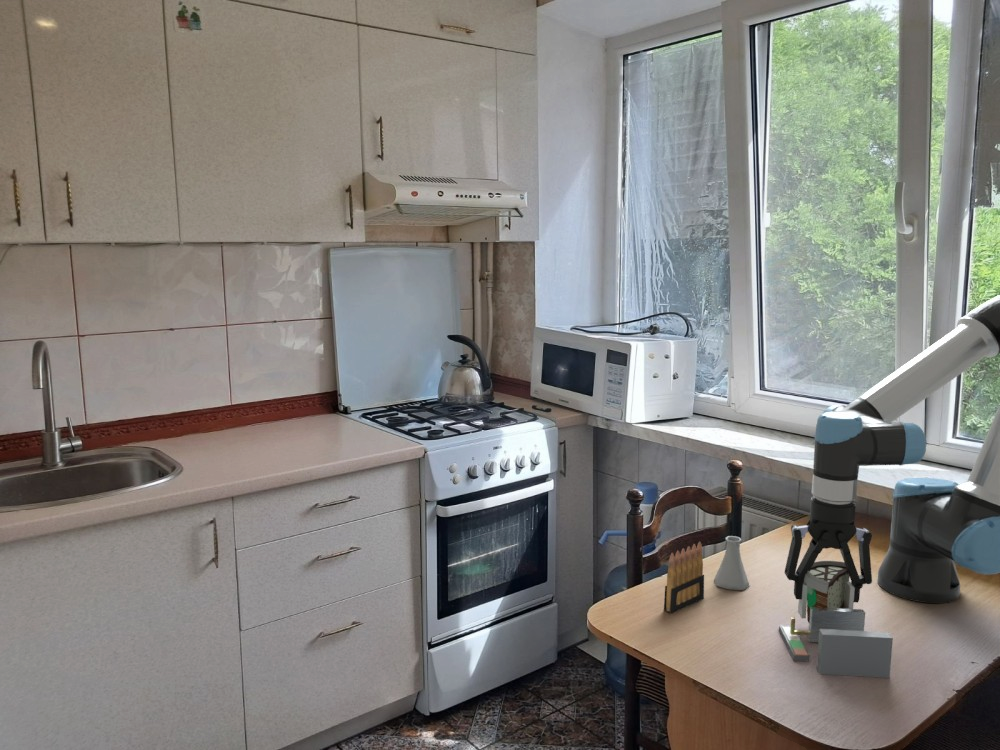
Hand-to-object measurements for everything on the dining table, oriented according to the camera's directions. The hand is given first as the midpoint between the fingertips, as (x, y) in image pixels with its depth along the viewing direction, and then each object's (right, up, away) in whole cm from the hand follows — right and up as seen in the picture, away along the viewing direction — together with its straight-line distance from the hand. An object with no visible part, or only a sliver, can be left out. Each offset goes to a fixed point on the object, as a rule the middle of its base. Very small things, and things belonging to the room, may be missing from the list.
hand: (824, 616), depth 148 cm
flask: (-12, +1, +20) cm, 23 cm away
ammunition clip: (-24, -1, +10) cm, 26 cm away
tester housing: (-2, -4, -9) cm, 10 cm away
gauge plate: (-2, -3, -6) cm, 7 cm away
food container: (-1, -1, 0) cm, 1 cm away
